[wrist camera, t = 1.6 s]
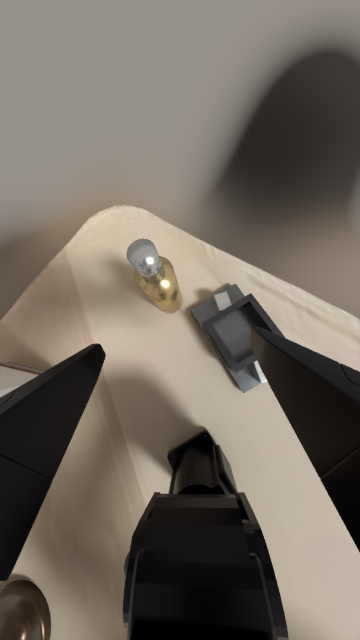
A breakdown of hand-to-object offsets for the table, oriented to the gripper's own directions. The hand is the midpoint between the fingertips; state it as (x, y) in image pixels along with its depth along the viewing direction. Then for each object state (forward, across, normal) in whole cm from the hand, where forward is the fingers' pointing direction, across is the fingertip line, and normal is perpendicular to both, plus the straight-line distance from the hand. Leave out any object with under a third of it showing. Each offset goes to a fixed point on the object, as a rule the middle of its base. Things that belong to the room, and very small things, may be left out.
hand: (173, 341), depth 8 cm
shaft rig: (+11, -8, +8) cm, 16 cm away
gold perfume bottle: (+15, +2, +4) cm, 16 cm away
